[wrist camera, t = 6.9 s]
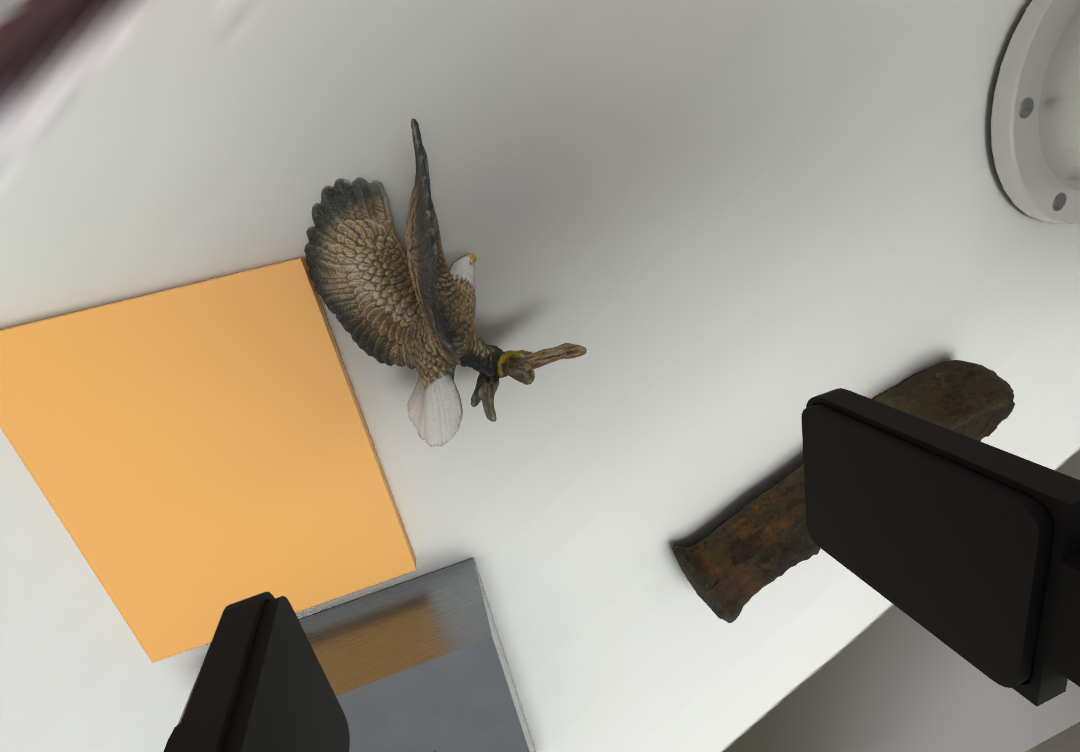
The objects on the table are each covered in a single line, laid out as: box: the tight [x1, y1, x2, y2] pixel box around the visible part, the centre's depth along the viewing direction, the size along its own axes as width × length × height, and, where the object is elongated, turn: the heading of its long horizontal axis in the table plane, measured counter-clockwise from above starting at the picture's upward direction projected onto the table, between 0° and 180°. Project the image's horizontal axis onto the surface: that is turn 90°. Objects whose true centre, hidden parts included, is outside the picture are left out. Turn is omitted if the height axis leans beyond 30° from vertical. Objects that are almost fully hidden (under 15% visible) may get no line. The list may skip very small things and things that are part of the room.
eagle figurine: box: [304, 119, 586, 446], centre depth 18 cm, size 8×7×9 cm
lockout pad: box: [0, 257, 416, 663], centre depth 21 cm, size 11×14×1 cm
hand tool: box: [672, 360, 1015, 623], centre depth 27 cm, size 19×4×5 cm, turn 122°
